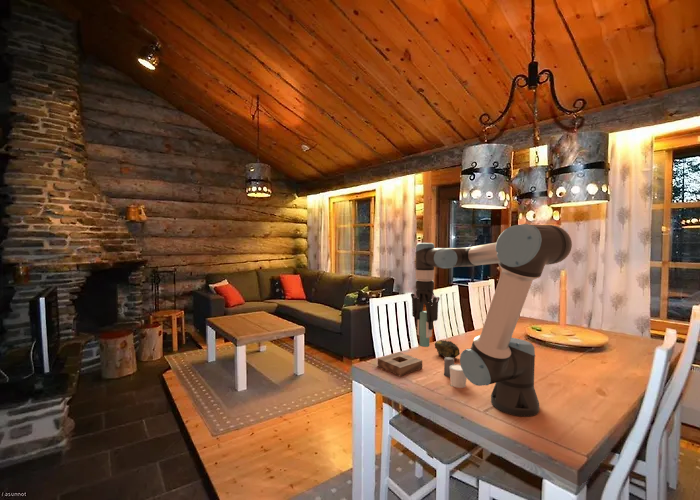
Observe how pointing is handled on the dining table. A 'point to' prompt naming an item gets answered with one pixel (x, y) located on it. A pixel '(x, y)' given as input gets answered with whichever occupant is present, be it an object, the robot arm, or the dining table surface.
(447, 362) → the short dowel
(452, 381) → the shot glass
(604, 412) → the dining table surface
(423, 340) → the long dowel
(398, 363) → the hole block
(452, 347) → the rock
